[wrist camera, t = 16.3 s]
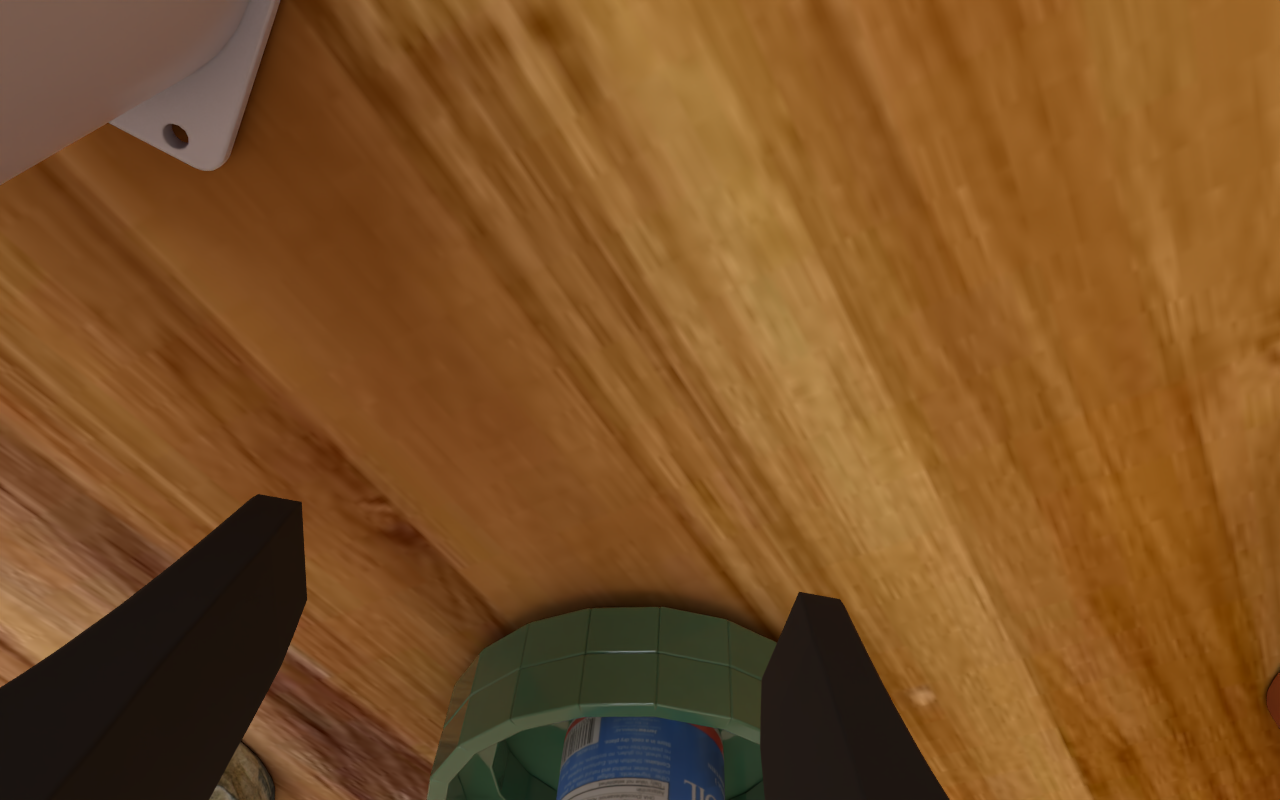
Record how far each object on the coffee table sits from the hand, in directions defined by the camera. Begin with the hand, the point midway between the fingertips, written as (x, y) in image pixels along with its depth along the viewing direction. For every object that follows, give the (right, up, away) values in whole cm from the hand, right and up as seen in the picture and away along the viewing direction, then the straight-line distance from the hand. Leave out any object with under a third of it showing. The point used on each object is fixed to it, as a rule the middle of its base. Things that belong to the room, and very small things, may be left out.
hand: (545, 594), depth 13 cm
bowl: (+1, -8, +17) cm, 19 cm away
